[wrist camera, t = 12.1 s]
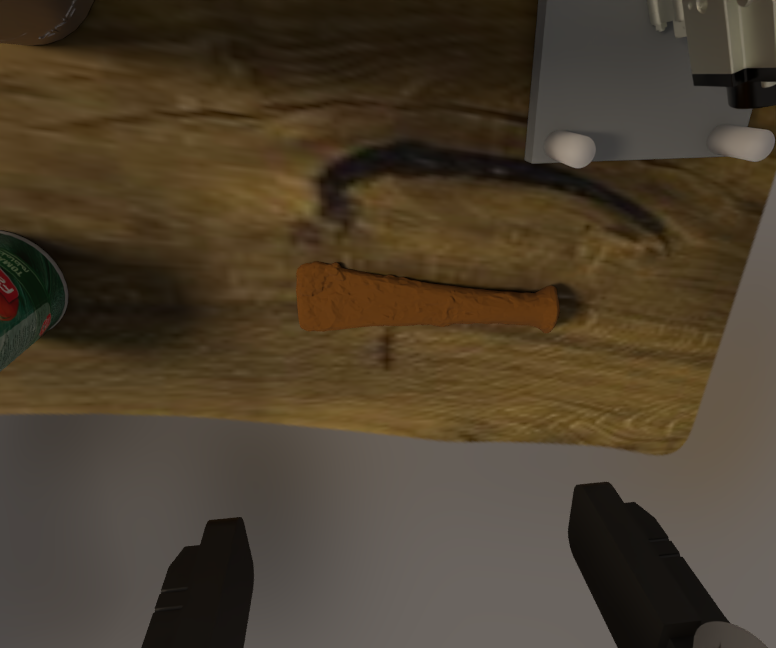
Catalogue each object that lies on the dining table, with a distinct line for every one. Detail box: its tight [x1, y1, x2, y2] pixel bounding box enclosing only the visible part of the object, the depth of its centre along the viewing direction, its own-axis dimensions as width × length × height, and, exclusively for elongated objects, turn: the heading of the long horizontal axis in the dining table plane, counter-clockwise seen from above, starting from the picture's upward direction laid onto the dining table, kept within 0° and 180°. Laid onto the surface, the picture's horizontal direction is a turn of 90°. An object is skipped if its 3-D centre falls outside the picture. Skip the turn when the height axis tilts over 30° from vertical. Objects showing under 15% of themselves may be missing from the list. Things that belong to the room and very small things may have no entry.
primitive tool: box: [296, 261, 560, 333], centre depth 37 cm, size 19×6×4 cm, turn 90°
